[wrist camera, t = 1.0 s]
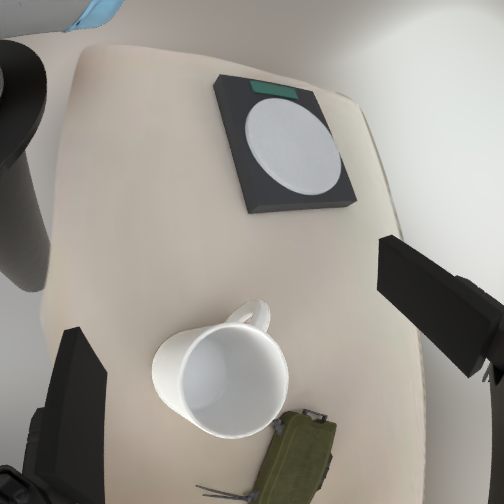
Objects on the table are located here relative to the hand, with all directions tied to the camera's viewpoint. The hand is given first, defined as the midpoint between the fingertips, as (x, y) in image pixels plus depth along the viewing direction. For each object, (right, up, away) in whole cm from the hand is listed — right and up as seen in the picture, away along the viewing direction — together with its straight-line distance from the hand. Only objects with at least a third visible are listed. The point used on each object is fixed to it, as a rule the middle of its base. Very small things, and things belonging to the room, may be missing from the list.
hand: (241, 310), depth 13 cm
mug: (-5, -8, +17) cm, 20 cm away
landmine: (+2, -21, +17) cm, 27 cm away
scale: (+5, +17, +31) cm, 35 cm away
